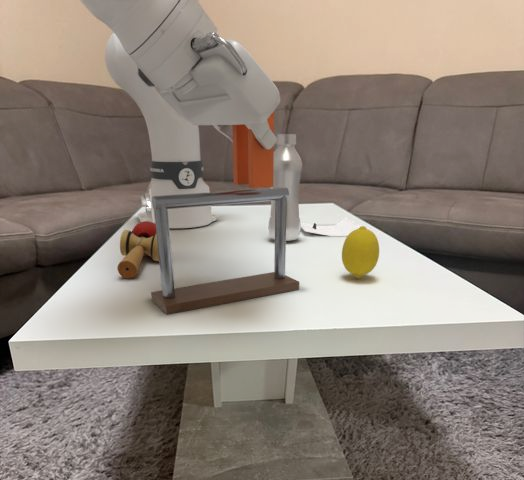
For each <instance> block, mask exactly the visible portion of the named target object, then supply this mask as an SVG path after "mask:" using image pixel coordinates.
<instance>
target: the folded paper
mask: <svg viewBox="0 0 524 480" xmlns="http://www.w3.org/2000/svg"><path fill="white" fill-rule="evenodd" d="M300 224H301V229H302V230H303V231H304V232H306V233H311V234H317V235H323V236H327V237H328V236H329V237H347V236H348V235H349V234H350V233H351V232H352V231H354V230H356V229H359V228H360V227H361V226H362V225H360V224H358V223H357V222H356V221H353V220H352V219H351V218H349V217H348V216H346V217H344V218H343V219H342V220H341V221H339V222H337V223H336V224H335V225H319V224H316V222H314V223H307V222H302V221H300Z"/></svg>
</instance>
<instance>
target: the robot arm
mask: <svg viewBox="0 0 524 480" xmlns="http://www.w3.org/2000/svg"><path fill="white" fill-rule="evenodd" d="M79 1H80V2H81V3H82V4H83V6H84V7H85V8H86V9H87V10H88V11H89V12H90V14H91V15H93V17H95V18H96V19H97V20H98V21H100V22H102V23H103V24H105V26H107V27H108V28H109V29H110V31H112V32H113V33H112V34H111V35H110V36H109V38H108V40H107V42H106V45H105V49H104V62H105V66H106V69H107V71H108V74H109V76H110V77H111V79H112V80H113V81H114V83H115V84H116V85H117V86H118V87H119V88H121V89H122V90H123V91H124V92H126V93H127V94H128V95H129V96H130V98H131V99H132V100H133V101H134V102H135V104H136V105H137V107H138V109H139V110H140V112H141V114H142V115H143V118H144V122H145V125H146V127H147V133H148V138H149V145H150V154H151V161H150V167H149V171H150V172H149V173H150V175H149V176H150V177H151V180H150V182H149V185H148V187H147V188H146V192H145V193H143V195H140V196H139V203H140V206H141V207H145V211H144V212H139V213H137V216H138V217H137V218H138V220H139V223H141V222H145V221H149V222H153V223H155V214H154V209H153V206H152V197H153V196H165V195H179V194H194V193H209V192H211V191H210V187H209V185H208V184H207V183H206V182H205V181H204V178H203V177H204V171H205V170H204V169H205V168H204V163H203V161H202V160H201V159H202V158H201V142H200V128H199V126H213V128H214V129H215V130H216V131H217V132H219V133H220V134H222V135H223V136H224V137H226V138H227V139H228V140H229V141H230V142H231V143H232V144H233V133H232V125H243V124H245V125H246V127H247V128H248V129H251V130H252V132H253V133H254V135H255V137H256V138H255V139H254V140H255V141H256V142H257V144H258V145H259V146H260V147H261V148H262V149H268V150H269V149H271V148H272V147H273V145H274V146H275V145H276V141H277V138H276V135H275V134H273V132H272V131H271V130H270V128H269V124H268V121H267V119H268V118H269V116H270V115H271V114H272V113H273V112H274V113H275V110H276V109H277V108H278V106H279V105H280V103H281V100H282V99H281V94H280V91H279V89H278V87H277V86H276V84H275V83H274V81H273V80H272V79H271V78H270V77H269V75H268V74H267V73H266V71H265V70H264V69H263V68H262V66H260V64H259V63H258V62H257V61H256V59H255V58H254V57H253V55H251V53H250V52H249V51H248V50H247V49H246V48H245V47H244V46H243V45H241V44H240V43H239V42H238V41H236V40H234V39H224V38H222V37H221V36H219V34H218V27H217V26H216V25H215V23H214V22H213V20H212V19H211V18H210V16H209V15H208V14H207V12H206V10H204V8H203V6H202V5H201V4H200V2H199V0H79ZM168 219H169V229H190V228H191V229H192V228H199V227H204V226H208V225H210V224H211V223H212V222H217V221H218V215H214V214H213V210H212V206H203V207H190V208H178V209H168Z"/></svg>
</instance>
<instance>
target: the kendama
mask: <svg viewBox="0 0 524 480" xmlns="http://www.w3.org/2000/svg"><path fill="white" fill-rule="evenodd" d="M119 241H120V242H119V250H120V254H121V256H124V258H123V259H121V261H120V262H119V263H118V265H117V272H118V274H119V275H120V276H121V277H122V278H123V279H129V280H130V279H131V280H132V279H133V278H135V277H136V276H137V274H138V270H139V268H140V265H141V263H142V260H143V257H144V256H149V257H150V258H151V259H152V260H153V261H154V262H159V254H158V244H157V234H156V224H155V223H153V222H149V221H145V222H138V223H137V224H135V226H133V228H132V230H130V229H129V230H128V229H123V231H122V233H121V235H120V240H119Z"/></svg>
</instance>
